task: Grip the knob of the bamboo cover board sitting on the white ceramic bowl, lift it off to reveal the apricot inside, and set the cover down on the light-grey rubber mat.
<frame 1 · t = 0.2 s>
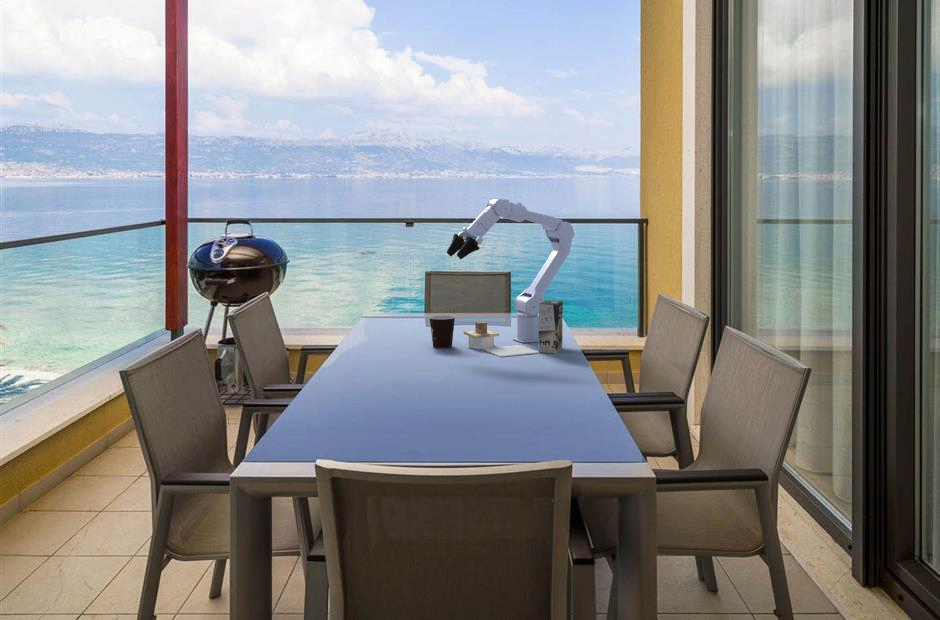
hand: (453, 255, 282), 31 cm above the table, tool tilted 45°, fingers open, 7 cm apart
coffee mug: (443, 346, 290), on the table
cover: (481, 334, 287), point 4 cm above the table, touching bowl
mat: (510, 351, 279), on the table
coffee box: (550, 351, 280), on the table
bowl: (481, 346, 288), on the table
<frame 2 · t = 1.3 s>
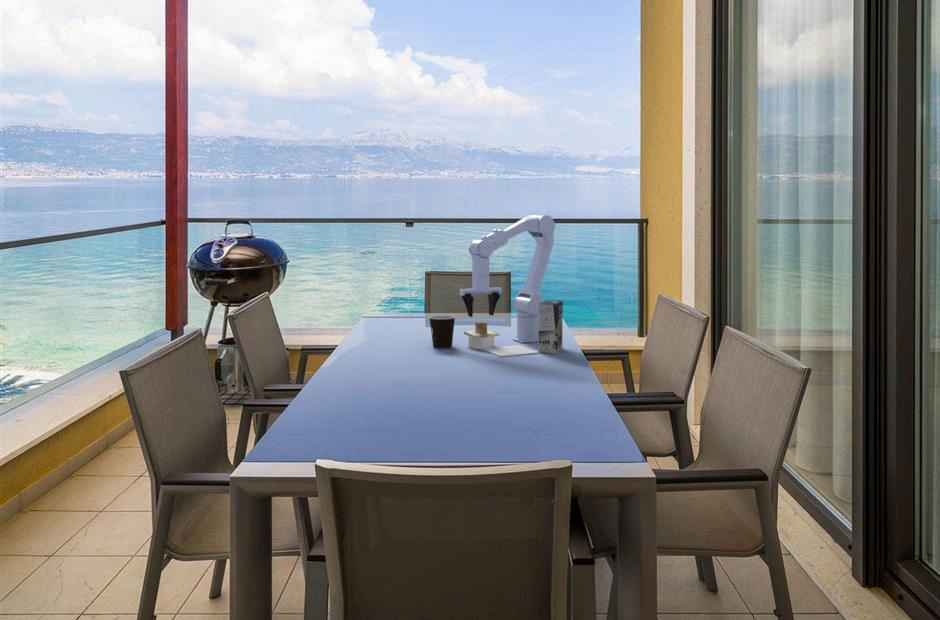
hand: (480, 315, 286), 11 cm above the table, tool pointing down, fingers open, 7 cm apart
nothing on the table moved.
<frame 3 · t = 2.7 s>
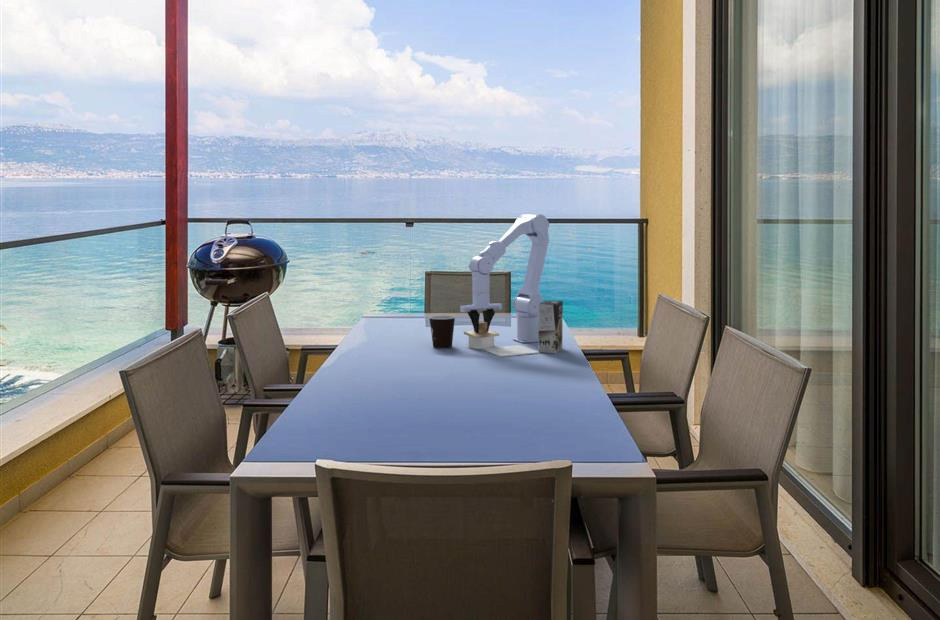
hand: (481, 331, 287), 5 cm above the table, tool pointing down, fingers closed on cover, 3 cm apart
cover: (481, 334, 287), point 4 cm above the table, touching bowl, gripper
everything else where it was.
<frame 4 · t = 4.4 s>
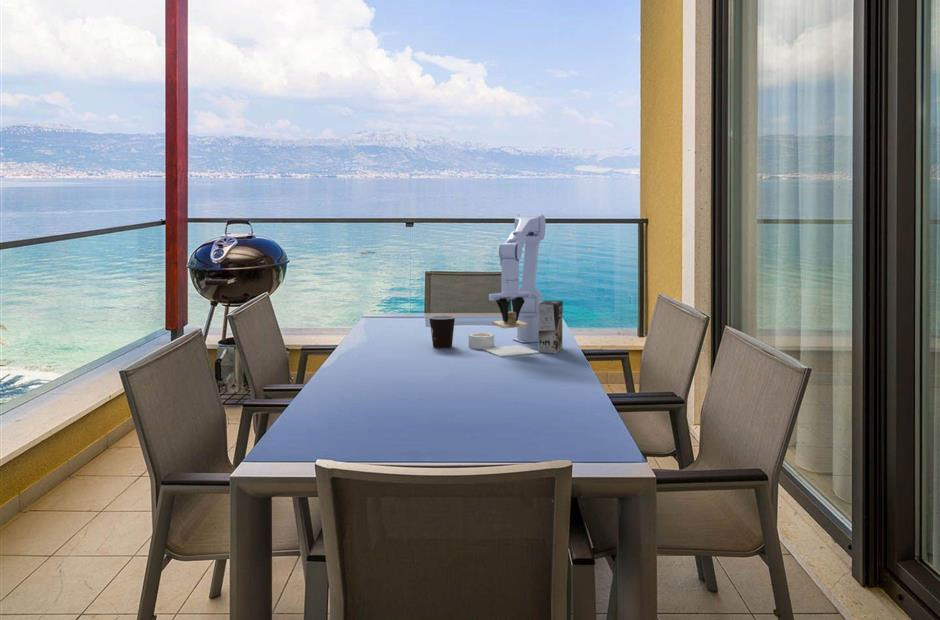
hand: (510, 321, 277), 10 cm above the table, tool pointing down, fingers closed on cover, 3 cm apart
cover: (510, 325, 278), point 9 cm above the table, touching gripper
everything else where it was.
when the fingers open (3 cm above the table, at t = 6.0 s): cover stays where it is, resting on mat.
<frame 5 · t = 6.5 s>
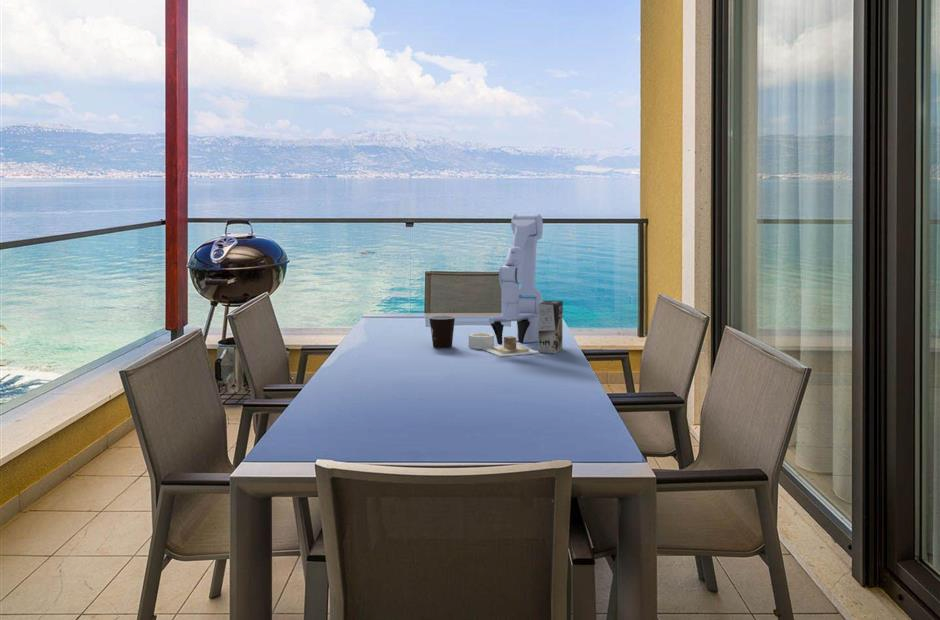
hand: (510, 343, 278), 3 cm above the table, tool pointing down, fingers open, 7 cm apart
cover: (510, 350, 279), resting on mat
everything else where it was.
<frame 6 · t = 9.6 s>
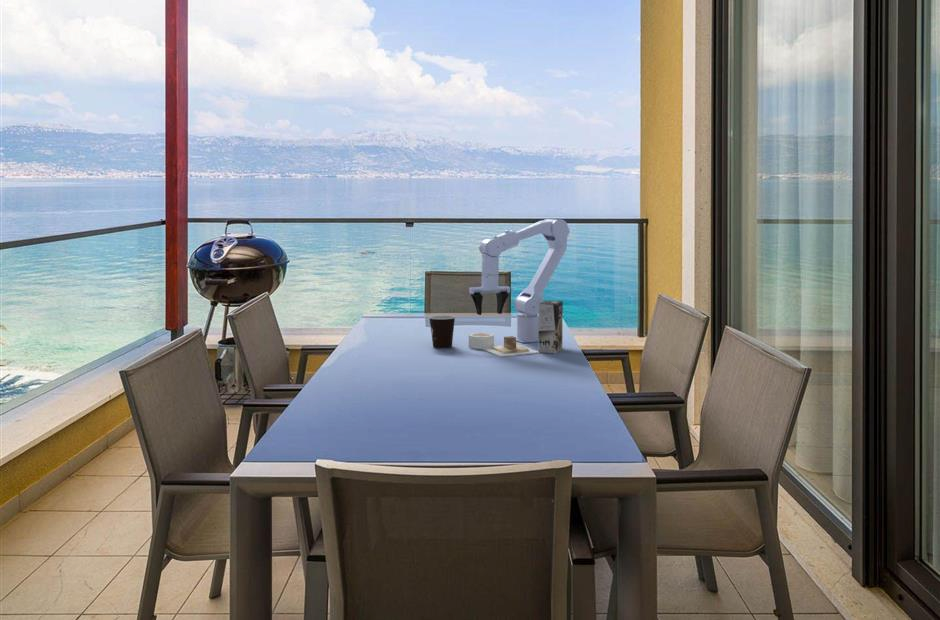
hand: (489, 314, 291), 10 cm above the table, tool pointing down, fingers open, 7 cm apart
nothing on the table moved.
at the end: cover inside the target area on the mat (0.2 cm from its centre), point 0.4 cm above the mat's base; cover touching mat; the gripper is holding nothing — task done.
